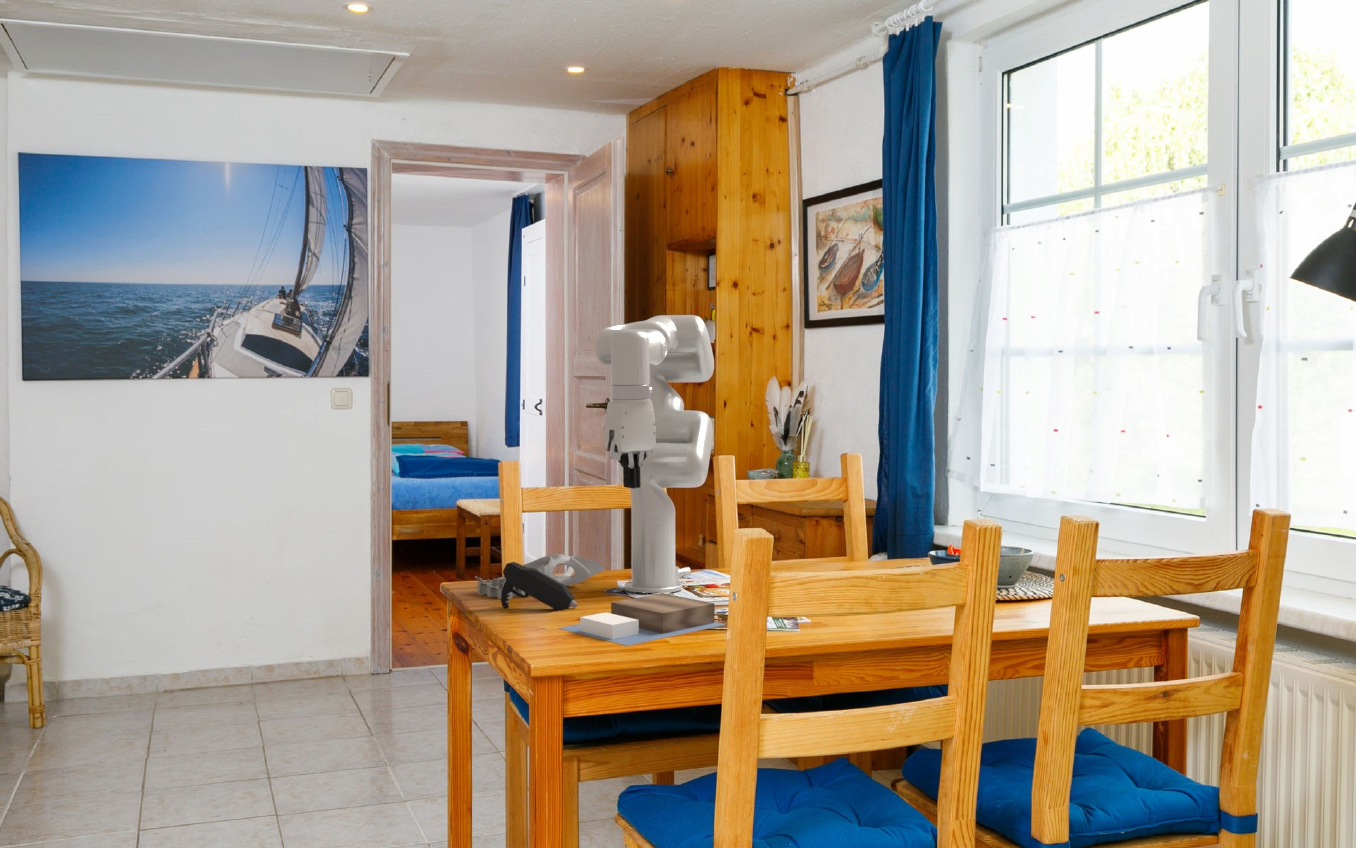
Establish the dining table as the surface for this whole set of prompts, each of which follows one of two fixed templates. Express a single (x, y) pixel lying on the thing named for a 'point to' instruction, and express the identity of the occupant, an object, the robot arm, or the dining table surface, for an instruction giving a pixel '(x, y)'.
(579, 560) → the sculpture
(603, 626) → the tile
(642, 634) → the placemat
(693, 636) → the dining table surface
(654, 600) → the block
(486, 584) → the grey castle ruin model
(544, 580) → the gun
